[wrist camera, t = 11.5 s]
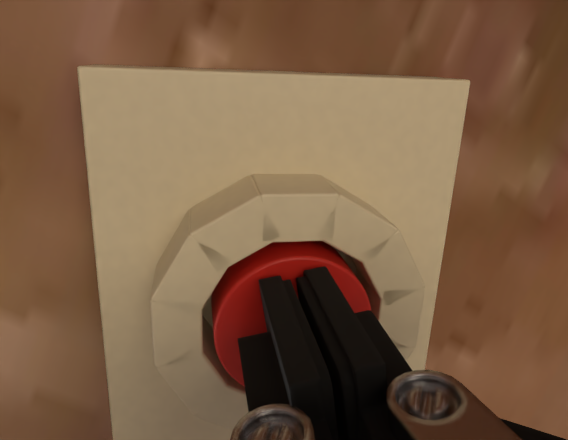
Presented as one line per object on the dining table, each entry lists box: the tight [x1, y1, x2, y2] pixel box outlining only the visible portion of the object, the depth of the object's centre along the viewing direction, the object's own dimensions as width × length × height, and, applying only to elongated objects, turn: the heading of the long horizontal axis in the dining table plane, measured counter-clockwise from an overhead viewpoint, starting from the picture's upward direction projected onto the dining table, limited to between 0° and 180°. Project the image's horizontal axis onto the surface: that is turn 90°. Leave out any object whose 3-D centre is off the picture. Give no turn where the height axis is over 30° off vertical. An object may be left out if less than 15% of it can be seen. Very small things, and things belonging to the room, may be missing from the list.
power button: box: [211, 241, 371, 387], centre depth 12 cm, size 4×4×2 cm
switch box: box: [77, 64, 470, 440], centre depth 14 cm, size 12×10×4 cm
